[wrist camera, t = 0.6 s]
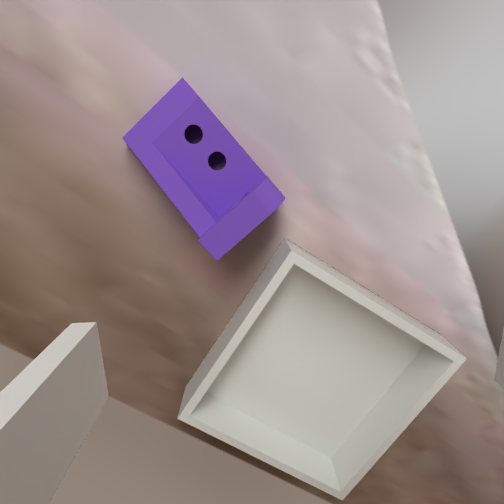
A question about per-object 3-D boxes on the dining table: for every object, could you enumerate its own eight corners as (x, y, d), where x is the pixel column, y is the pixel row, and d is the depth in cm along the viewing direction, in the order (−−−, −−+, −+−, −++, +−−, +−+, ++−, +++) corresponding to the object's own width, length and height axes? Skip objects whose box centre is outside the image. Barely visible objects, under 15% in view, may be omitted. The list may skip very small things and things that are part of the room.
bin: (185, 386, 36) (177, 418, 31) (284, 237, 32) (291, 250, 27) (331, 461, 39) (342, 500, 34) (438, 333, 35) (466, 358, 30)
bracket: (278, 191, 31) (287, 199, 24) (222, 240, 32) (216, 261, 26) (185, 81, 29) (167, 58, 22) (128, 138, 30) (95, 132, 23)
